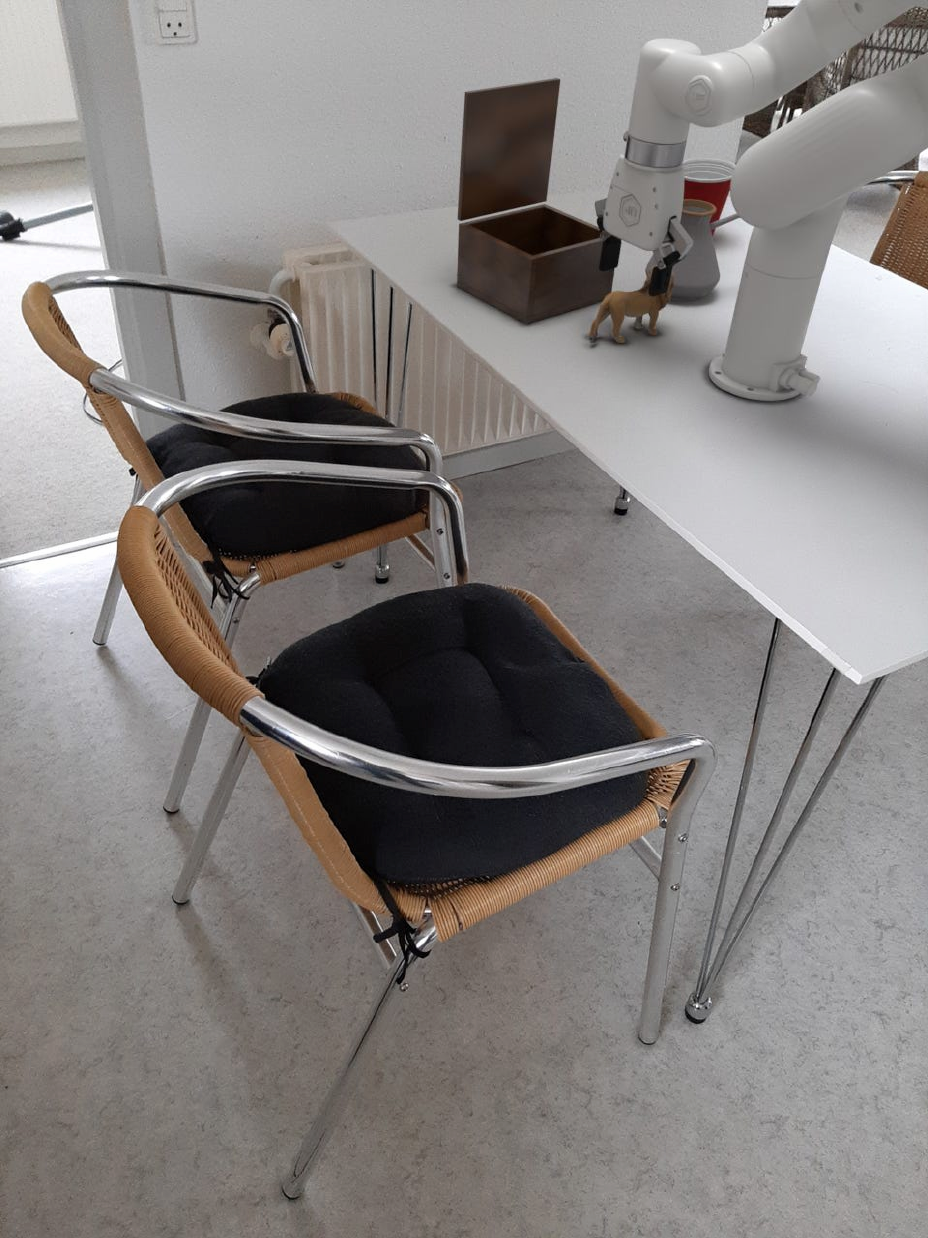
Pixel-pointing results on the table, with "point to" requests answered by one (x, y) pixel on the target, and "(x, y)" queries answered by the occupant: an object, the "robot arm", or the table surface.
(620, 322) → the lion figurine
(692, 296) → the coffee pot
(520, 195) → the lid
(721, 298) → the table surface
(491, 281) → the chest
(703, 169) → the plastic cup
